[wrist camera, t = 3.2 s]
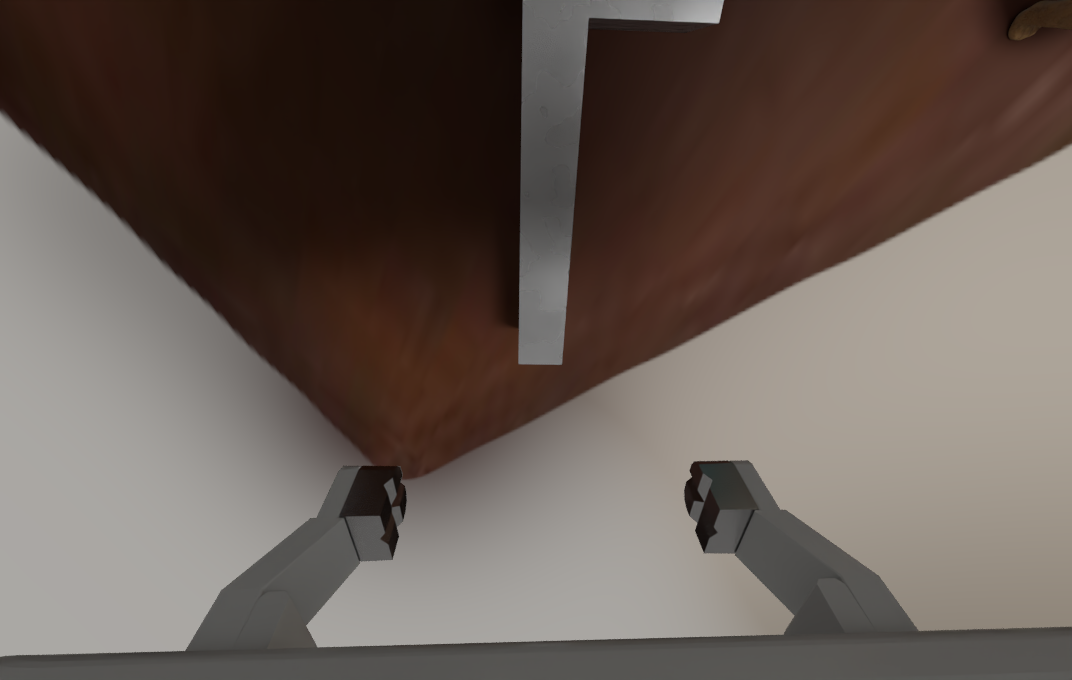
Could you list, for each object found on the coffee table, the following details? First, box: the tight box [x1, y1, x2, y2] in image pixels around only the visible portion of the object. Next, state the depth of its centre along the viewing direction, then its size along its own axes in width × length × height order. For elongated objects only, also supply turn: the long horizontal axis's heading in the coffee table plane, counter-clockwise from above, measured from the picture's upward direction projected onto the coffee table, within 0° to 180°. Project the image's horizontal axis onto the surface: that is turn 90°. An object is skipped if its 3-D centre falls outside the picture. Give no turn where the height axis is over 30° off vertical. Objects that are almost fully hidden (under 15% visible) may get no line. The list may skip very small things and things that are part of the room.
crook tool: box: [519, 0, 724, 365], centre depth 21 cm, size 8×18×4 cm, turn 178°
